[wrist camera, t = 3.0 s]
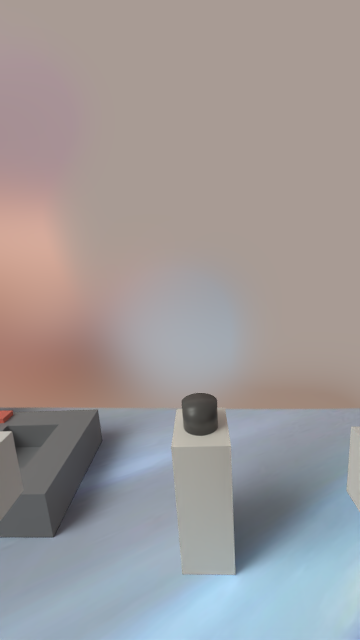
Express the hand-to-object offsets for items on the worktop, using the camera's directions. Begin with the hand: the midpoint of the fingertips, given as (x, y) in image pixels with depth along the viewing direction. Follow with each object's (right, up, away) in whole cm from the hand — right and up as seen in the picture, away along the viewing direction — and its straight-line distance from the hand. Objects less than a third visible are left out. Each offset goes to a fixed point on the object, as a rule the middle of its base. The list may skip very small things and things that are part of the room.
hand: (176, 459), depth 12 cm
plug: (+2, -13, +14) cm, 19 cm away
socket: (-18, -13, +22) cm, 31 cm away
